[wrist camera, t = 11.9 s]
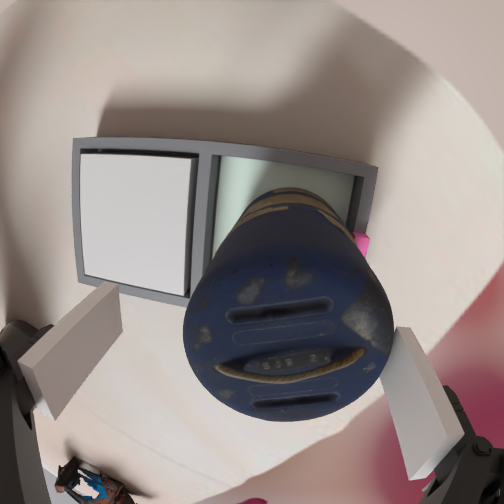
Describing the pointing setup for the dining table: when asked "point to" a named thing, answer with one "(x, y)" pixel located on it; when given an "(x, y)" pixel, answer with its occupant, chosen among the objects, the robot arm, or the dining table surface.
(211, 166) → the grey divided tray
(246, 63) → the dining table surface
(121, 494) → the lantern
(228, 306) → the canister
